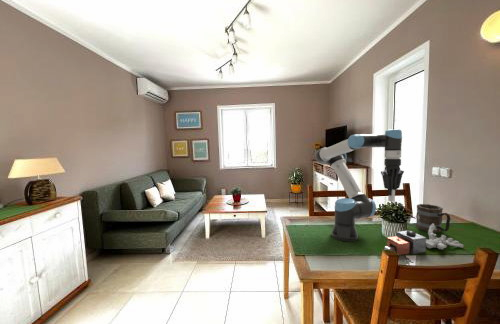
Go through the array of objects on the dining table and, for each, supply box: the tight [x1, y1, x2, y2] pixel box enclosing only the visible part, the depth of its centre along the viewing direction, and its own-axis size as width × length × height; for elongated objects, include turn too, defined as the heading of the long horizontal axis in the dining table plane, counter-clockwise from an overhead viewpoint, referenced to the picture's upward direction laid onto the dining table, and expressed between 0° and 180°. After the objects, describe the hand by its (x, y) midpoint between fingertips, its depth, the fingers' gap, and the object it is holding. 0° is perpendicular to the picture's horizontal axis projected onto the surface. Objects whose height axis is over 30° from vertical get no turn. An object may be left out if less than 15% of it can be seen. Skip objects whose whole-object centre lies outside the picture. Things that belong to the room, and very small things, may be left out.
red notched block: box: [386, 235, 410, 256], centre depth 118 cm, size 6×8×6 cm
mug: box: [415, 203, 451, 233], centre depth 143 cm, size 20×14×15 cm
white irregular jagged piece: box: [426, 224, 465, 250], centre depth 124 cm, size 19×8×20 cm
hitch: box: [383, 230, 427, 255], centre depth 118 cm, size 20×10×10 cm, turn 102°
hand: (391, 201), depth 120 cm, fingers closed
